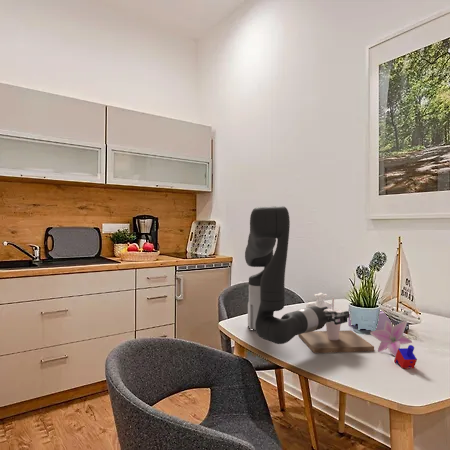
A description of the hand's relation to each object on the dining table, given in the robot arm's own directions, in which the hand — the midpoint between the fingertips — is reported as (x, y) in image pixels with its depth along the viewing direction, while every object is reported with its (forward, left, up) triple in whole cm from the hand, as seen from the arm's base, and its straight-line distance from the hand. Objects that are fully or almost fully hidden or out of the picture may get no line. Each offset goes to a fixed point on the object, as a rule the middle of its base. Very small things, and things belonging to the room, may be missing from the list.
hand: (337, 311), depth 133 cm
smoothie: (-2, -1, -9) cm, 9 cm away
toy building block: (+11, -23, -11) cm, 28 cm away
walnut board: (-2, -1, -10) cm, 11 cm away
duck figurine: (+6, +37, -11) cm, 39 cm away
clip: (+23, +18, -11) cm, 31 cm away
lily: (+14, -11, -11) cm, 21 cm away
